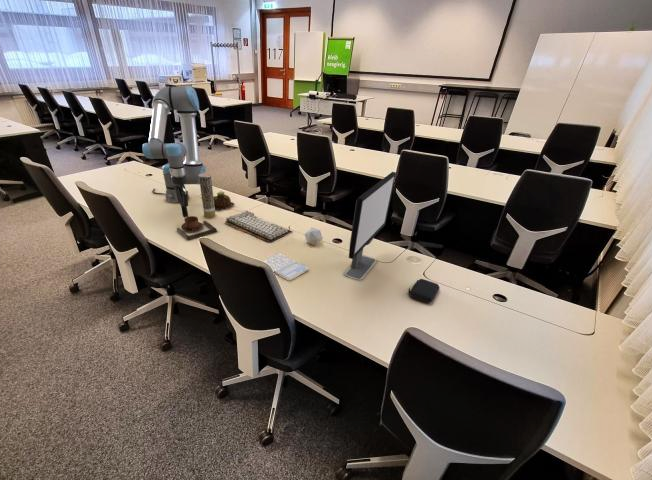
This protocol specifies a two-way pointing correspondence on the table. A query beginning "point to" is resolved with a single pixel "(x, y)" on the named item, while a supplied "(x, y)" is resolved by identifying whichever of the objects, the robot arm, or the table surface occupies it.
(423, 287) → the carrying case
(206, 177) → the bark textured cylinder
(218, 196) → the dark brown mound
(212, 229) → the bay
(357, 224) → the computer monitor
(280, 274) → the calculator
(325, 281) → the table surface
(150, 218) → the table surface
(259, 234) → the mechanical keyboard
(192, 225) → the cup and saucer
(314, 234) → the die
